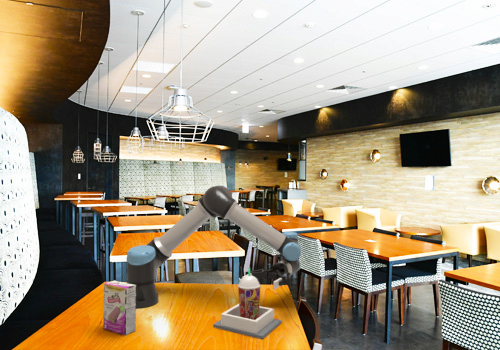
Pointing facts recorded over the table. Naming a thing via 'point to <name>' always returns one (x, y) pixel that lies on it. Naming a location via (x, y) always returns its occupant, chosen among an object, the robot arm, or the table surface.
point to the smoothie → (249, 297)
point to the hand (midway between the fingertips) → (258, 282)
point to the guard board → (248, 322)
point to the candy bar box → (119, 307)
